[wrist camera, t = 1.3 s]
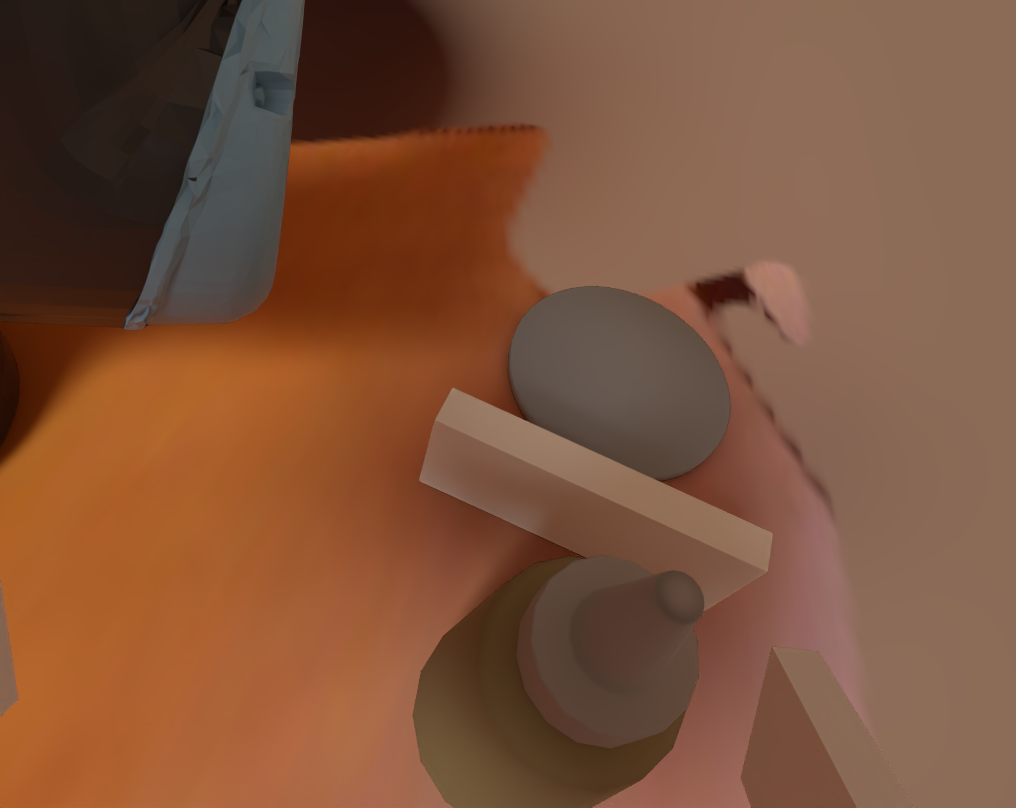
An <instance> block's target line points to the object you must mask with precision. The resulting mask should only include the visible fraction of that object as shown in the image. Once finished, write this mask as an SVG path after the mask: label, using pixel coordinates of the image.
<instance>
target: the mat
mask: <svg viewBox="0 0 1016 808" xmlns="http://www.w3.org/2000/svg"><path fill="white" fill-rule="evenodd" d="M508 374H509V381H510V385H511V389H512V392H513V395H514V398H515V400H516V402H517V404H518V407H519V409H520V410H521V412H522V414H523V415H524V417H525V419H526V420H527V421H528V422H530V423H532V424H534V425H536V426H539V427H541V428H543V429H545V430H547V431H550V432H552V433H554V434H556V435H558V436H561V437H563V438H565V439H567V440H569V441H572V442H574V443H576V444H578V445H580V446H583V447H585V448H587V449H589V450H591V451H594V452H596V453H598V454H600V455H602V456H604V457H607V458H609V459H611V460H613V461H615V462H618V463H620V464H622V465H624V466H626V467H629V468H631V469H633V470H635V471H637V472H640V473H642V474H644V475H646V476H648V477H651V478H653V479H655V480H657V481H659V482H660V481H666V480H669V479H673V478H677V477H679V476H681V475H683V474H686V473H688V472H690V471H691V470H693V469H694V468H696V467H697V466H699V465H700V464H701V463H702V462H703V461H704V460H705V459H706V458H707V457H708V456H709V455H710V454H711V453H712V452H713V451H714V450H715V449H716V447H717V446H718V445H719V443H720V442H721V440H722V438H723V436H724V434H725V432H726V429H727V426H728V422H729V416H730V395H729V390H728V385H727V382H726V379H725V376H724V373H723V371H722V368H721V366H720V364H719V362H718V360H717V359H716V357H715V355H714V354H713V352H712V351H711V349H710V348H709V347H708V345H707V344H706V343H705V341H704V340H703V339H702V338H701V337H700V336H699V335H698V333H697V332H696V331H695V330H694V329H693V328H692V327H690V326H689V325H688V324H687V323H686V322H685V321H684V320H682V319H681V318H680V317H678V316H677V315H676V314H674V313H673V312H671V311H670V310H668V309H666V308H665V307H663V306H662V305H660V304H658V303H656V302H654V301H652V300H650V299H648V298H645V297H642V296H640V295H637V294H634V293H631V292H628V291H624V290H620V289H615V288H609V287H598V286H587V287H577V288H570V289H566V290H563V291H559V292H556V293H554V294H552V295H549V296H547V297H546V298H544V299H542V300H541V301H539V302H538V303H537V304H535V305H534V306H533V307H532V308H531V309H530V310H529V311H528V312H527V313H526V314H525V315H524V317H523V318H522V320H521V321H520V323H519V325H518V327H517V329H516V332H515V334H514V337H513V340H512V342H511V345H510V350H509V355H508Z"/></svg>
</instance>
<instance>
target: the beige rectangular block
mask: <svg viewBox="0 0 1016 808" xmlns="http://www.w3.org/2000/svg"><path fill="white" fill-rule="evenodd" d="M419 481H420V482H422V483H424V484H427V485H429V486H431V487H433V488H435V489H438V490H440V491H442V492H444V493H446V494H448V495H451V496H453V497H455V498H457V499H459V500H462V501H464V502H466V503H468V504H470V505H472V506H475V507H477V508H479V509H481V510H483V511H485V512H488V513H490V514H492V515H494V516H496V517H499V518H501V519H503V520H505V521H507V522H509V523H512V524H514V525H516V526H518V527H520V528H523V529H525V530H527V531H529V532H531V533H533V534H536V535H538V536H540V537H542V538H544V539H546V540H549V541H551V542H553V543H555V544H557V545H560V546H562V547H564V548H566V549H568V550H570V551H573V552H575V553H577V554H579V555H581V556H584V557H586V558H591V557H596V556H601V555H605V556H609V557H614V558H619V559H623V560H628V561H632V562H635V563H636V564H638V565H640V566H641V567H643V568H644V569H646V570H648V571H649V572H651V573H652V574H654V575H656V574H659V573H663V572H667V571H672V570H676V571H680V572H684V573H686V574H687V575H689V576H690V577H692V578H693V579H694V580H695V581H696V583H697V584H698V585H699V586H700V588H701V591H702V593H703V596H704V610H703V612H704V611H706V610H707V609H709V608H711V607H712V606H714V605H716V604H717V603H719V602H720V601H722V600H724V599H725V598H727V597H728V596H730V595H732V594H733V593H735V592H736V591H738V590H740V589H741V588H743V587H745V586H746V585H748V584H749V583H751V582H753V581H754V580H756V579H757V578H759V577H761V576H762V575H764V574H765V573H767V572H768V567H769V560H770V552H771V545H772V537H773V533H771V532H769V531H767V530H765V529H763V528H760V527H758V526H756V525H754V524H752V523H749V522H747V521H745V520H743V519H741V518H739V517H736V516H734V515H732V514H730V513H728V512H725V511H723V510H721V509H719V508H717V507H714V506H712V505H710V504H708V503H706V502H703V501H701V500H699V499H697V498H695V497H692V496H690V495H688V494H686V493H684V492H681V491H679V490H677V489H675V488H673V487H670V486H668V485H666V484H664V483H662V482H659V481H657V480H655V479H653V478H651V477H648V476H646V475H644V474H642V473H640V472H637V471H635V470H633V469H631V468H629V467H626V466H624V465H622V464H620V463H618V462H615V461H613V460H611V459H609V458H607V457H604V456H602V455H600V454H598V453H596V452H594V451H591V450H589V449H587V448H585V447H583V446H580V445H578V444H576V443H574V442H572V441H569V440H567V439H565V438H563V437H561V436H558V435H556V434H554V433H552V432H550V431H547V430H545V429H543V428H541V427H539V426H536V425H534V424H532V423H530V422H528V421H525V420H523V419H521V418H519V417H517V416H514V415H512V414H510V413H508V412H506V411H503V410H501V409H499V408H497V407H495V406H492V405H490V404H488V403H486V402H484V401H481V400H479V399H477V398H475V397H473V396H470V395H468V394H466V393H464V392H462V391H459V390H457V389H455V388H452V390H451V391H450V393H449V395H448V397H447V399H446V400H445V402H444V404H443V406H442V408H441V410H440V411H439V413H438V415H437V417H436V419H435V421H434V425H433V429H432V432H431V436H430V440H429V444H428V447H427V451H426V455H425V459H424V463H423V466H422V470H421V474H420V478H419Z"/></svg>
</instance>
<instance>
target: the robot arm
mask: <svg viewBox="0 0 1016 808" xmlns="http://www.w3.org/2000/svg"><path fill="white" fill-rule="evenodd" d="M304 1H305V0H0V322H19V323H39V324H60V325H80V326H100V327H120V328H123V329H124V330H141V329H143V328H144V327H146V326H147V325H185V324H224V323H229V322H232V321H236V320H239V319H240V318H242V317H244V316H246V315H249V314H251V313H253V312H254V311H255V310H257V309H258V308H259V306H260V305H261V304H262V303H263V302H265V300H266V299H267V297H268V295H269V294H270V291H271V289H272V286H273V282H274V277H275V272H276V266H277V259H278V251H279V244H280V235H281V227H282V219H283V210H284V200H285V191H286V181H287V172H288V163H289V152H290V142H291V131H292V117H293V113H292V110H293V100H294V98H295V88H296V77H297V66H298V59H299V54H300V44H301V33H302V23H303V11H304ZM18 394H19V378H18V370H17V365H16V362H15V359H14V356H13V353H12V351H11V349H10V347H9V345H8V344H7V342H6V340H5V339H4V337H3V335H2V334H1V332H0V445H1V443H2V441H3V439H4V437H5V436H6V434H7V432H8V429H9V427H10V425H11V423H12V420H13V417H14V414H15V410H16V406H17V401H18ZM17 700H18V694H17V687H16V681H15V674H14V667H13V661H12V654H11V648H10V641H9V634H8V628H7V621H6V615H5V608H4V601H3V595H2V588H1V582H0V716H1V715H2V714H3V713H5V712H6V711H7V710H8V709H9V708H10V707H11V706H12V705H13V704H14V703H15V702H16V701H17ZM741 780H742V782H743V785H744V788H745V791H746V794H747V797H748V800H749V802H750V805H751V808H916V807H915V806H914V804H913V802H912V801H911V799H910V798H909V796H908V794H907V793H906V791H905V790H904V788H903V786H902V785H901V783H900V781H899V780H898V778H897V777H896V775H895V773H894V772H893V770H892V769H891V767H890V766H889V764H888V762H887V761H886V759H885V757H884V756H883V754H882V753H881V751H880V749H879V748H878V746H877V744H876V743H875V741H874V740H873V738H872V736H871V735H870V733H869V732H868V730H867V728H866V727H865V725H864V724H863V722H862V720H861V719H860V717H859V716H858V714H857V712H856V711H855V709H854V708H853V706H852V704H851V703H850V701H849V700H848V698H847V696H846V695H845V693H844V692H843V690H842V688H841V687H840V685H839V683H838V682H837V680H836V679H835V677H834V675H833V674H832V672H831V671H830V669H829V667H828V666H827V664H826V663H825V661H824V659H823V658H822V656H821V655H820V653H819V651H812V650H802V649H793V648H783V647H773V646H772V649H771V653H770V657H769V662H768V666H767V670H766V674H765V678H764V682H763V687H762V691H761V695H760V699H759V703H758V708H757V712H756V716H755V720H754V724H753V729H752V733H751V737H750V741H749V745H748V749H747V754H746V758H745V762H744V766H743V770H742V775H741Z"/></svg>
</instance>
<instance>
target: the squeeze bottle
mask: <svg viewBox="0 0 1016 808" xmlns="http://www.w3.org/2000/svg"><path fill="white" fill-rule="evenodd" d="M703 610H704V596H703V593H702V591H701V588H700V586H699V585H698V584H697V583H696V581H695V580H694V579H693V578H692V577H690V576H689V575H687V574H686V573H684V572H680V571H676V570H672V571H667V572H663V573H659V574H656V575H654V574H652V573H651V572H649V571H648V570H646V569H644V568H643V567H641V566H640V565H638V564H636V563H635V562H632V561H628V560H623V559H619V558H614V557H609V556H605V555H601V556H596V557H591V558H585V559H581V558H577V557H572V556H570V557H564V558H559V559H554V560H548V561H543V562H538V563H534V564H532V565H531V566H529V567H528V568H526V569H525V570H524V571H522V572H521V573H519V574H518V575H516V576H515V577H513V578H512V579H511V580H509V581H508V582H506V583H505V584H503V585H502V586H501V587H500V588H499V589H497V590H496V591H495V592H494V593H493V594H492V595H490V596H489V597H488V598H487V599H486V600H485V601H483V602H482V603H481V604H480V605H479V606H478V607H476V608H475V609H474V610H473V611H472V612H471V613H469V614H468V615H467V616H466V617H465V618H464V619H462V620H461V621H460V622H459V623H458V624H457V625H455V626H454V627H453V628H452V629H451V630H450V631H448V632H447V633H446V634H445V635H444V636H443V637H442V639H441V640H440V642H439V643H438V645H437V647H436V648H435V650H434V651H433V653H432V655H431V656H430V658H429V659H428V661H427V662H426V664H425V666H424V667H423V669H422V670H421V674H420V679H419V685H418V690H417V695H416V700H415V706H414V711H413V719H414V725H415V731H416V736H417V742H418V748H419V753H420V759H421V762H422V764H423V766H424V767H425V769H426V770H427V772H428V774H429V775H430V777H431V779H432V780H433V782H434V784H435V785H436V787H437V788H438V790H439V792H440V793H441V795H442V797H443V798H444V800H445V802H447V803H448V804H450V805H451V806H452V807H454V808H592V807H593V806H595V805H597V804H599V803H601V802H602V801H604V800H606V799H608V798H610V797H611V796H613V795H615V794H617V793H619V792H620V791H622V790H624V789H626V788H628V787H629V786H631V785H633V784H635V783H637V782H638V781H640V780H642V779H643V778H644V777H645V776H646V775H647V774H648V773H649V772H650V771H651V770H652V769H653V768H654V767H655V766H656V765H657V764H658V763H659V762H660V761H661V760H662V759H663V758H664V757H665V756H666V755H667V754H668V753H669V751H670V750H671V749H672V748H673V746H674V743H675V740H676V737H677V735H678V732H679V729H680V726H681V723H682V720H683V718H684V715H685V712H686V709H687V708H688V705H689V702H690V699H691V696H692V694H693V691H694V688H695V685H696V682H697V679H698V677H699V668H698V644H697V638H696V636H695V633H694V630H693V627H694V626H695V624H696V623H697V622H698V620H699V619H700V617H701V615H702V612H703Z"/></svg>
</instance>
